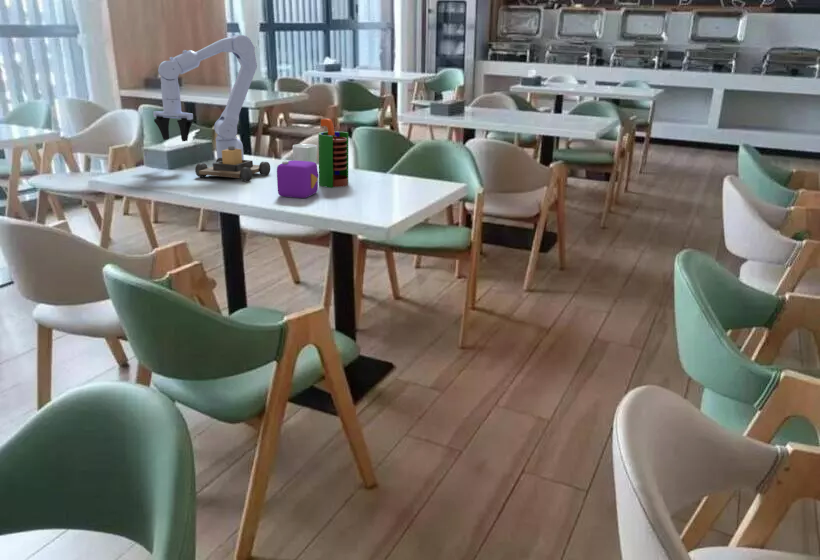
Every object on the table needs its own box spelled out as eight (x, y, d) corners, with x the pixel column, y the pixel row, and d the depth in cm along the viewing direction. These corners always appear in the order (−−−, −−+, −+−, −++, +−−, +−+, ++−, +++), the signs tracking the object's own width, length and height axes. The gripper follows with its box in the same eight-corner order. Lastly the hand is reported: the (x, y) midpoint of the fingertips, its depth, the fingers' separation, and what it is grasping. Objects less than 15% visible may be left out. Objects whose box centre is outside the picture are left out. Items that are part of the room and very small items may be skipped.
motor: (342, 188, 207) (341, 121, 200) (314, 186, 209) (312, 120, 202) (351, 181, 216) (351, 117, 210) (324, 180, 218) (323, 116, 211)
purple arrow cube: (323, 189, 205) (322, 156, 202) (312, 200, 193) (311, 164, 189) (288, 188, 206) (286, 155, 203) (275, 198, 193) (273, 163, 190)
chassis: (224, 169, 232) (223, 156, 230) (271, 174, 226) (270, 160, 224) (195, 178, 218) (194, 163, 216) (244, 183, 212) (243, 168, 210)
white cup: (288, 176, 223) (287, 146, 219) (303, 172, 229) (302, 142, 226) (308, 179, 219) (307, 148, 216) (322, 175, 226) (321, 145, 222)
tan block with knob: (232, 166, 223) (230, 145, 221) (242, 167, 222) (241, 146, 220) (223, 169, 219) (221, 147, 217) (233, 170, 218) (232, 148, 215)
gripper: (145, 98, 224) (149, 140, 229) (181, 100, 220) (185, 143, 224) (159, 97, 230) (163, 137, 235) (195, 99, 226) (199, 140, 230)
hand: (175, 140), depth 230 cm, fingers open, 7 cm apart
